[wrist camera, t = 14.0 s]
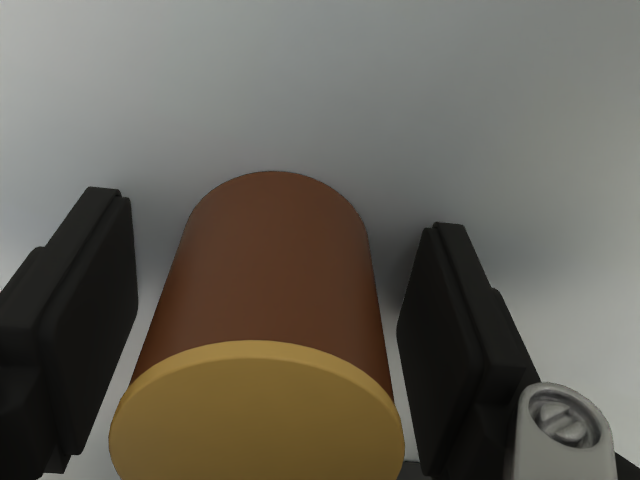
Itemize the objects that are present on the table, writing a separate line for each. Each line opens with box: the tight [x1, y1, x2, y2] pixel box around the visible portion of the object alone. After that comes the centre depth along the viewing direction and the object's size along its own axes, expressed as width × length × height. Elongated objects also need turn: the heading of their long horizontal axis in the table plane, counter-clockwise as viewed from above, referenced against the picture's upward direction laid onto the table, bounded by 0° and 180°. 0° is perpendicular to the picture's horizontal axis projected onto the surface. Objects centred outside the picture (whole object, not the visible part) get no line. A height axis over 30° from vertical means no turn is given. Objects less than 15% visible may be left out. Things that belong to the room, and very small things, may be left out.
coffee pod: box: [108, 171, 405, 480], centre depth 10 cm, size 4×4×5 cm
